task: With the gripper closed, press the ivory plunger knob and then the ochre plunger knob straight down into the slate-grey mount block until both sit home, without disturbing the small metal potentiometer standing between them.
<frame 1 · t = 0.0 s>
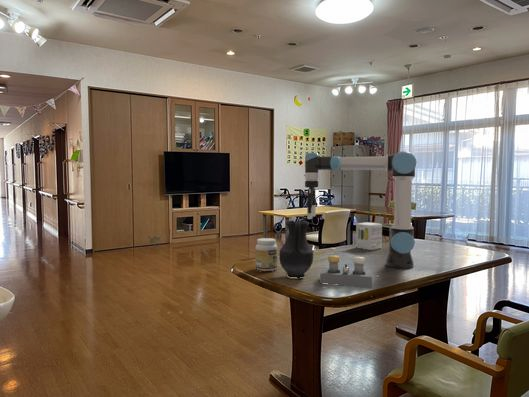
hand: (311, 217, 225), 28 cm above the table, fingers open, 13 cm apart
potentiometer: (345, 273, 190), point 5 cm above the table, touching mount
knob A: (358, 265, 191), point 9 cm above the table, slide at 0.0 cm
pitcher: (296, 278, 201), on the table
mount: (346, 282, 193), on the table
white canister: (368, 248, 282), on the table
supplement tub: (266, 270, 218), on the table
knob B: (333, 264, 194), point 9 cm above the table, slide at 0.0 cm
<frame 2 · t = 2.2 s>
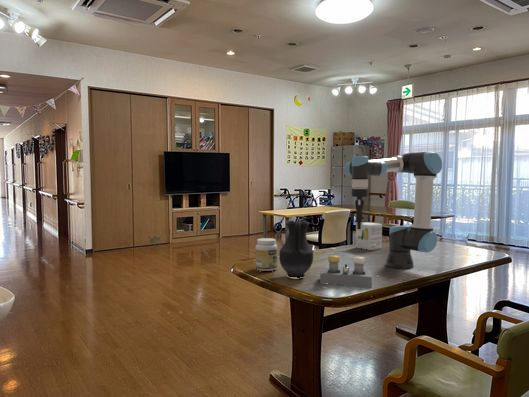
hand: (359, 234, 190), 24 cm above the table, fingers open, 11 cm apart
nothing on the table moved.
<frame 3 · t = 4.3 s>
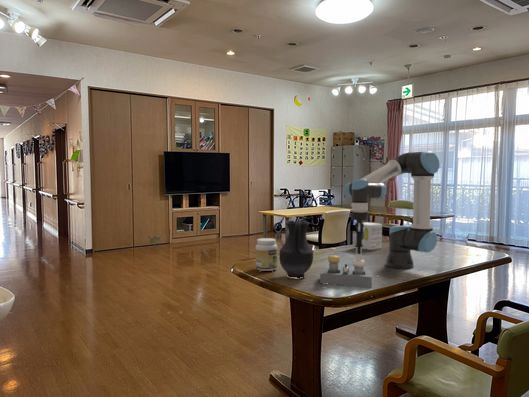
hand: (358, 260, 191), 11 cm above the table, fingers closed
knob A: (358, 268, 191), point 7 cm above the table, slide at 1.4 cm, touching gripper
everything else where it was.
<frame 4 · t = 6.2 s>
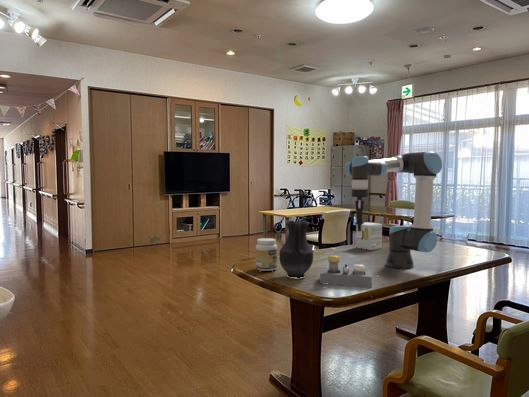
hand: (359, 237, 190), 22 cm above the table, fingers closed
knob A: (358, 273, 191), point 5 cm above the table, slide at 3.8 cm
everything else where it was.
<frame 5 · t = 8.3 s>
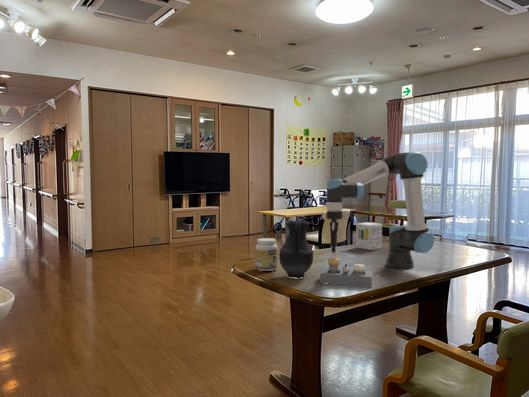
hand: (333, 258, 194), 12 cm above the table, fingers closed
knob B: (333, 266, 194), point 8 cm above the table, slide at 1.3 cm, touching gripper
everything else where it was.
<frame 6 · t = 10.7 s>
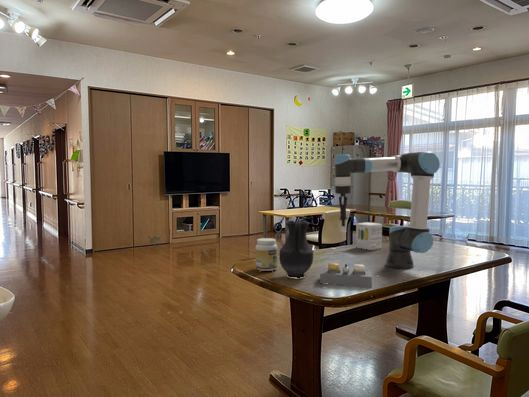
hand: (343, 232, 198), 24 cm above the table, fingers closed
knob B: (333, 271, 194), point 5 cm above the table, slide at 3.8 cm
everything else where it was.
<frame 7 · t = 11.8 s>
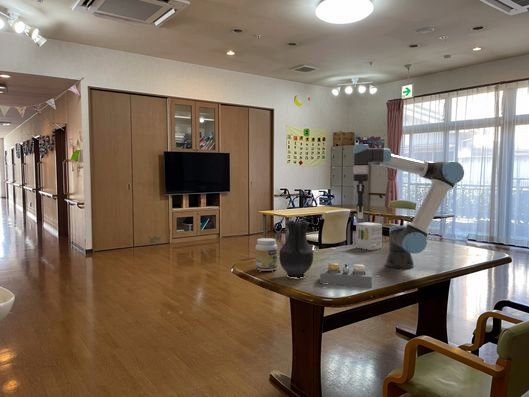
hand: (360, 218, 210), 29 cm above the table, fingers closed
nothing on the table moved.
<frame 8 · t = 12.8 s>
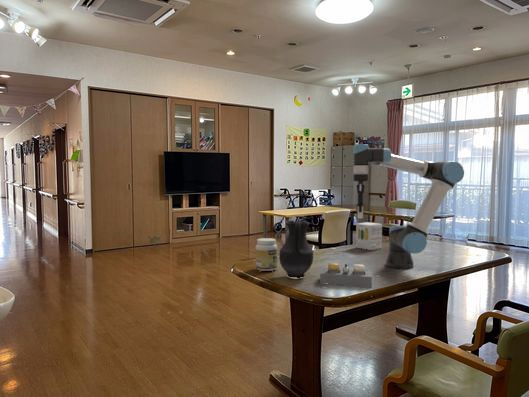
hand: (360, 218, 210), 29 cm above the table, fingers closed
nothing on the table moved.
at the end: knob A slide at 3.8 cm; knob B slide at 3.8 cm; potentiometer moved 0.0 cm from its start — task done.
